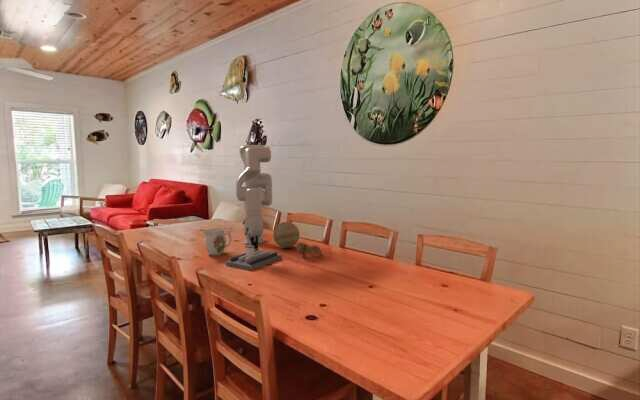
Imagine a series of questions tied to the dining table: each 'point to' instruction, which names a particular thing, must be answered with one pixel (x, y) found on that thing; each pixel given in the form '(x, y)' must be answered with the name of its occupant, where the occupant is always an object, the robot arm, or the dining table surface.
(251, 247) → the knob
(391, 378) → the dining table surface
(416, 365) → the dining table surface
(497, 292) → the dining table surface
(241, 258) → the breaker panel
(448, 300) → the dining table surface
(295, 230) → the decorative ball
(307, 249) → the lion figurine
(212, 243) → the pitcher
